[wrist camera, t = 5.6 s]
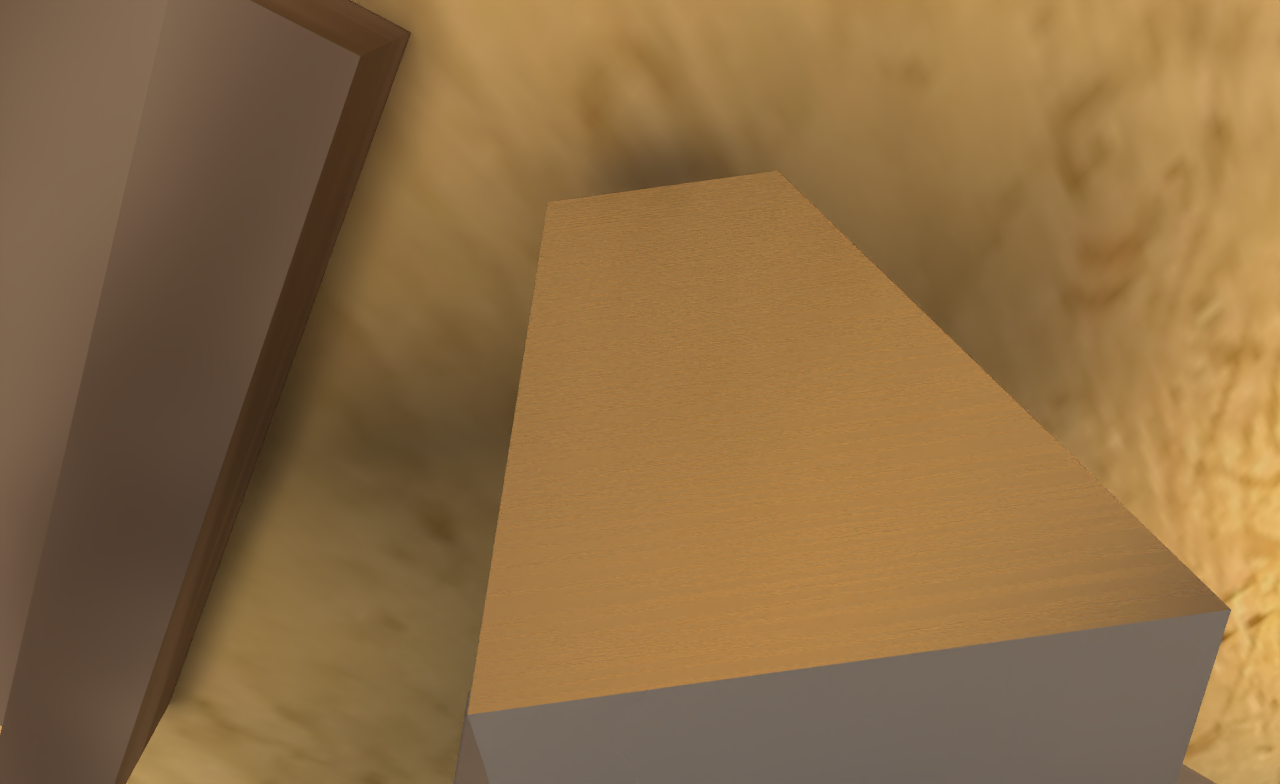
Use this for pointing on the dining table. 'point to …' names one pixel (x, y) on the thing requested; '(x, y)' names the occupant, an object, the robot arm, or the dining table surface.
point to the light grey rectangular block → (803, 532)
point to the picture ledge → (151, 326)
